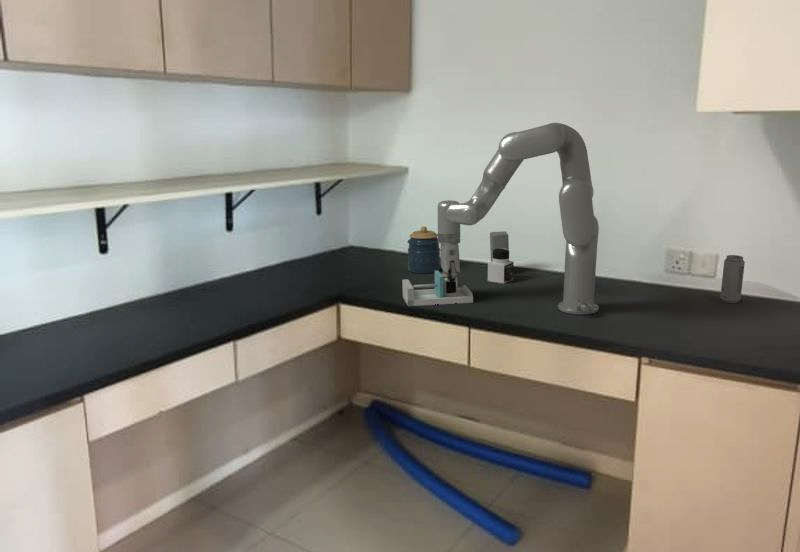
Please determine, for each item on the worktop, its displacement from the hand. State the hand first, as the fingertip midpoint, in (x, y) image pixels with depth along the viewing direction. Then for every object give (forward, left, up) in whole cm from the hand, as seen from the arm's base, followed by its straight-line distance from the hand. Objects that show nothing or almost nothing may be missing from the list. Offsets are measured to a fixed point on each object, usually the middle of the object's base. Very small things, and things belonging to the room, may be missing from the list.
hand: (449, 289), depth 234 cm
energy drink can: (-21, -90, -3) cm, 92 cm away
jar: (0, 0, -1) cm, 1 cm away
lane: (0, +4, -3) cm, 5 cm away
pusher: (0, +8, -2) cm, 8 cm away
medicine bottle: (+20, -24, -3) cm, 31 cm away
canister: (+42, +1, -3) cm, 42 cm away
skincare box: (+32, -27, -3) cm, 42 cm away
